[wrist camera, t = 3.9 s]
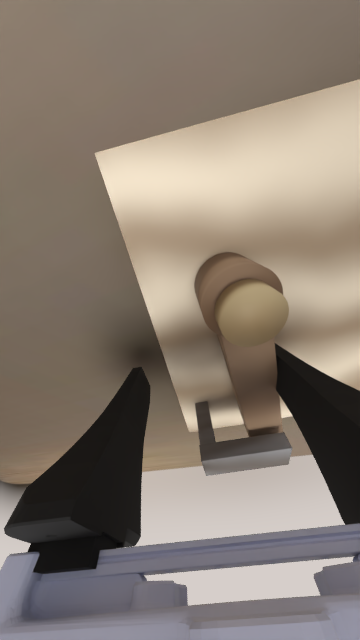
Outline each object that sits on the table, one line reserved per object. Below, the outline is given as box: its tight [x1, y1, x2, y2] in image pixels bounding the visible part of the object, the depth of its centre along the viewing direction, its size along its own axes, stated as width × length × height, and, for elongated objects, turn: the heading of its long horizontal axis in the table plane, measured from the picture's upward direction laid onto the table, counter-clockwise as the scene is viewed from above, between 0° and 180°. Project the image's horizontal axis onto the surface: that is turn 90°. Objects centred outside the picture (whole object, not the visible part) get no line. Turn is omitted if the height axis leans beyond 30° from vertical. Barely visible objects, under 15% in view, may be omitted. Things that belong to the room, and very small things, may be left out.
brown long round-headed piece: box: [194, 252, 283, 437], centre depth 12 cm, size 15×4×3 cm, turn 19°
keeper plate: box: [95, 79, 360, 476], centre depth 11 cm, size 23×20×6 cm
